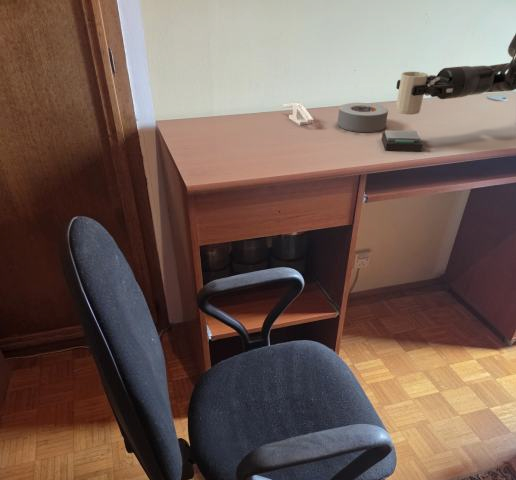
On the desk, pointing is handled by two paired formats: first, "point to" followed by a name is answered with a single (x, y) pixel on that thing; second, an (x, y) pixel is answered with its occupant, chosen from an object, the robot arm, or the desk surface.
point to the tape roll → (362, 117)
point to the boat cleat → (299, 114)
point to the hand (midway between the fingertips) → (405, 87)
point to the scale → (401, 141)
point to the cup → (405, 98)
